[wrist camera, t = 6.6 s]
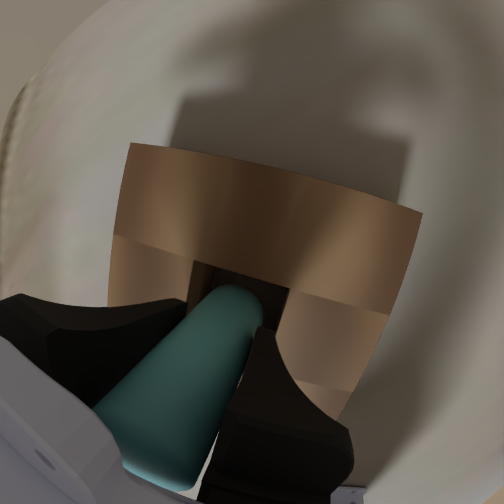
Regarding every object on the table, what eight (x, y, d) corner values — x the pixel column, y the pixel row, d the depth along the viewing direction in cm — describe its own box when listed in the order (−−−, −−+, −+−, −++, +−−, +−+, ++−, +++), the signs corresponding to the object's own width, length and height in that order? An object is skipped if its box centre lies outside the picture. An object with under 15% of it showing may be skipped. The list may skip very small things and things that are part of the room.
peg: (271, 296, 13) (205, 454, 4) (253, 348, 14) (188, 502, 5) (210, 275, 13) (77, 387, 5) (198, 328, 14) (92, 453, 5)
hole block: (395, 210, 14) (422, 213, 10) (319, 407, 17) (318, 447, 13) (166, 153, 16) (130, 142, 12) (137, 346, 19) (108, 372, 15)
